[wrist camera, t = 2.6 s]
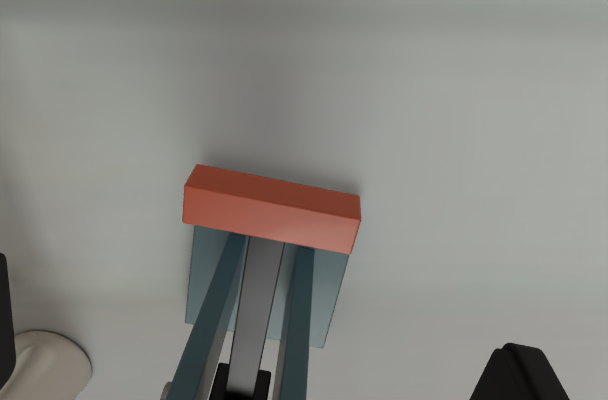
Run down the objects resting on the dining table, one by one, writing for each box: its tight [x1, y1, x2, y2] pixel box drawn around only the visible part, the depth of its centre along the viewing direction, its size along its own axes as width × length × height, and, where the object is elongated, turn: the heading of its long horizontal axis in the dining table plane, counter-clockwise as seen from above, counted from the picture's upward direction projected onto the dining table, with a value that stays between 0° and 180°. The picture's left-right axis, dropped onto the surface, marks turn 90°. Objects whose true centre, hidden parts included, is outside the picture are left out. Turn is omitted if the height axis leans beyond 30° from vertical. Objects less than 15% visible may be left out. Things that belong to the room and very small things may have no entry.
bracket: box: [160, 225, 349, 400], centre depth 23 cm, size 10×9×13 cm
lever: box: [182, 164, 361, 400], centre depth 17 cm, size 12×5×2 cm, turn 170°
